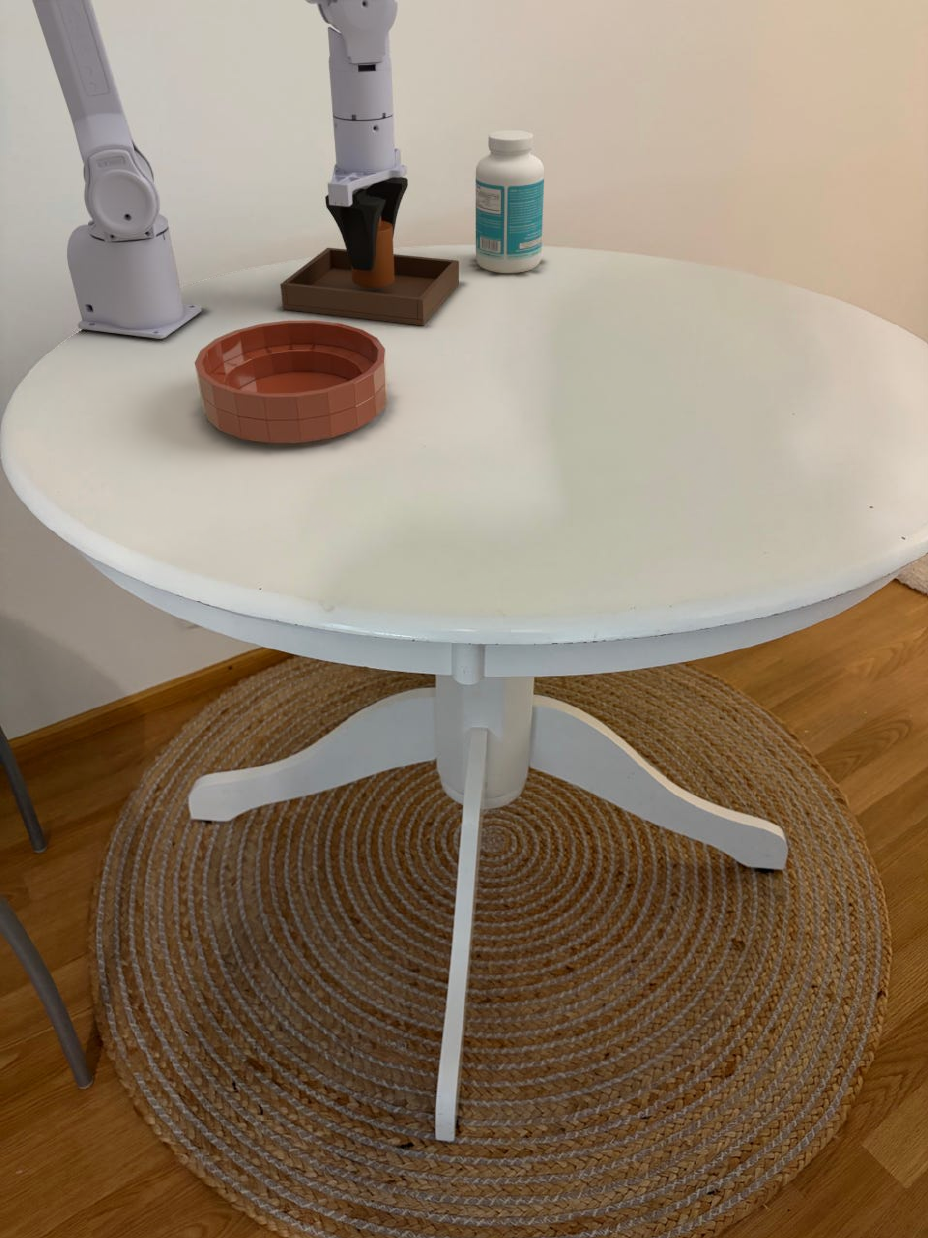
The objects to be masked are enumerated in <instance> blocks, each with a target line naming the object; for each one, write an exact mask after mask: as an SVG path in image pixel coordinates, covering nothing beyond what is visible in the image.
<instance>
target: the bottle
mask: <svg viewBox="0 0 928 1238" xmlns="http://www.w3.org/2000/svg"><path fill="white" fill-rule="evenodd" d="M369 198H371V199H381V198H378V197H372V196H369ZM382 210H383V209H382ZM394 254H395V252H394V236H393V229H392V224H390V223H389V222H386V221H381V216H380V219H379V224H378V230H377V239H376V257H375V264H374V268H373V269H372V270H371V271H368V270H358V269H353V268H352V281H353V283H354V284H355V285H358V286H361V287H367V288H378V287H384V286H388V285H390V284H392V283H393V282H394V280H395V275H394ZM351 267H352V265H351Z"/></svg>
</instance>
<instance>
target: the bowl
mask: <svg viewBox="0 0 928 1238" xmlns="http://www.w3.org/2000/svg"><path fill="white" fill-rule="evenodd" d="M194 367H195V374H196V378H197V384H198V389H199V395H200V399H201V406H202V410H203V413H204V416H205V418H206V420H207V421H208V422H210V424H211V425H213V426H214V427H215V428H216V429H218V430H219V431H220V432H223V433H226V434H227V435H230V436H234V437H236V438H238V439H242V440H249V441H256V442H262V443H270V444H280V443H281V444H283V443H284V444H285V443H286V444H288V443H296V444H297V443H307V442H314V441H320V440H326V439H331V438H334V437H338V436H340V435H343V434H347V433H349V432H352V431H355V430H357V429H359V428H361V427H363V426H364V425H366V424H367V423H369V422H371V421H372V420H374V419H376V418H377V417H378V416H379V414H380V413H381V412H382V411H383V410H384V408H385V407H386V405H387V401H388V378H387V377H388V376H387V375H388V374H387V358H386V348H385V347H384V345H383V344H382V343H381V342H380V340H379V338H378V337H376V336H374V335H373V334H371V333H369V332H367V331H366V330H364V329H361V328H358V327H355V326H351V325H348V324H344V323H341V322H331V321H324V320H315V319H312V320H311V319H310V320H308V319H307V320H305V319H304V320H302V319H301V320H281V321H273V322H265V323H260V324H255V325H251V326H247V327H242V328H239V329H236V330H233V331H230V332H228V333H226V334H224V335H222V336H219V337H216V338H215V339H213V340H212V341H210V343H208V344H207V345H206V346H204V347H203V348H202V349H201V350H199V352H198V354H197V357H196V358H195V361H194Z"/></svg>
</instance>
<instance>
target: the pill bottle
mask: <svg viewBox="0 0 928 1238" xmlns="http://www.w3.org/2000/svg"><path fill="white" fill-rule="evenodd" d="M487 145H488V150H489V151H490V153H489V154H488V155H485V156H484V157H482V158H481V159H480V160H479V161H478V162H477V165H476V167H475V260H476V263H477V264H478V265H479V267H481V268H482V269H484V270H486V271H489V272H494V273H499V274H500V273H501V274H517V273H518V274H519V273H524V272H528V271H531V270H532V269H535V268H536V267H537V266H538V265H539V264H540V262H541V260H542V248H543V245H542V243H543V242H542V241H543V221H544V220H543V219H544V193H545V192H544V190H545V189H544V188H545V166H544V164H543V162H542V161H541V159H540V158H539V157H537V156H535V155H533V154H531V151H532V149H533V147H534V135H533V133H532V132H530V131H525V130H517V129H515V130H514V129H507V130H504V129H503V130H497V131H493V132H491V133H489V134H488V143H487Z"/></svg>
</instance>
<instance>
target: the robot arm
mask: <svg viewBox="0 0 928 1238" xmlns="http://www.w3.org/2000/svg"><path fill="white" fill-rule="evenodd" d="M304 1H305V2H306V3H308V4H311V5H316V6H317V9H318V12H319V14H320V17H321V18H322V20H323V21H324V23H325V24H327V25H328V24H329V25H331V26H328V27H327V35H328V36H327V37H328V50H329V57H328V70H329V71H328V72H329V84H330V98H331V110H332V124H333V125H332V126H333V139H334V149H335V150H334V152H335V164H334V167H333V173H332V177H331V180H330V181H329V182H328V183H327V194H326V195H325V197H324V198H325V200H324V201H325V207H326V209H327V210H328V212H329V213H330V215H331V216H332V218H333V220H334V222H335V223H336V225H337V227H338V230H339V231H340V234H341V237H342V239H343V242H344V245H345V249H347V253H348V256H349V259H350V262H351V265H352V268H353V269H358V270H368V271H371V270H372V269H373V268H374V264H375V257H376V239H377V230H378V224H379V219H380V216H381V221H386V222H389V223H390V224H392V229H393V237H394V235H395V228H396V222H397V218H398V213H399V210H400V207H401V204H402V201H403V197H404V195H405V193H406V191H407V189H408V187H409V181H408V180H409V179H408V178H406V177H405V176H406V175H407V174H408V166H407V165H404V164H402V155H401V154H402V153H401V152H402V151H401V149H400V148H395V147H396V146H395V123H394V121H395V119H394V95H393V94H394V93H393V92H394V91H393V72H392V71H393V70H392V69H393V68H392V58H391V50H390V48H391V47H390V31H391V29H392V28H393V26H394V24H395V21H396V18H397V14H398V7H399V6H398V5H399V3H398V1H397V0H304ZM32 4H33V7H34V10H35V13H36V16H37V19H38V23H39V25H40V28H41V32H42V35H43V37H44V40H45V44H46V46H47V49H48V53H49V56H50V59H51V62H52V65H53V68H54V70H55V74H56V77H57V80H58V83H59V87H60V89H61V93H62V95H63V98H64V101H65V104H66V108H67V111H68V114H69V116H70V119H71V122H72V127H73V131H74V134H75V138H76V142H77V146H78V150H79V153H80V157H81V160H82V163H83V170H82V171H83V179H84V183H85V184H84V191H83V193H84V194H83V197H84V198H83V199H84V204H85V208H86V211H87V213H88V215H89V216H90V218H91V219H90V220H89V221H88V222H87V224H81V225H78V226H77V227H75V229H74V230H73V231H72V232H71V234H70V236H69V238H68V241H67V247H66V260H67V265H68V270H69V273H70V278H71V281H72V285H73V289H74V293H75V297H76V301H77V306H78V309H79V314H80V318H81V321H80V322H78V323H77V326H78V327H77V328H78V329H81V330H88V331H94V332H95V331H96V332H102V333H109V334H110V333H111V334H118V335H125V336H134V337H141V338H148V339H149V338H150V339H157V340H163V339H165V338H167V337H168V336H170V335H171V334H172V333H173V332H175V331H176V330H178V329H179V328H180V327H182V326H183V325H184V324H186V323H188V322H189V321H190V320H192V319H194V317H196V316H197V315H199V314H200V313H201V312H202V311H203V308H202V306H201V305H197V304H188V303H184V302H183V296H182V291H181V286H180V280H179V274H178V270H177V265H176V264H177V263H176V258H175V255H174V254H175V253H174V248H173V243H172V237H171V236H172V235H171V232H170V231H171V230H170V227H169V221H168V218H167V217H165V215H163V214H161V213H160V210H161V200H160V196H159V191H158V189H157V186H156V185H155V177H154V176H155V175H154V172H153V168H152V165H151V163H150V162H149V160H148V158H147V157H146V156H145V154H144V153H143V152H142V151H141V150H140V149H139V148H138V146H137V145H136V143H135V141H134V139H133V136H132V133H131V130H130V126H129V124H128V123H129V122H128V120H127V117H126V114H125V111H124V107H123V105H122V101H121V97H120V94H119V91H118V88H117V84H116V82H115V77H114V73H113V70H112V67H111V63H110V61H109V57H108V53H107V50H106V47H105V43H104V41H103V37H102V34H101V29H100V27H99V23H98V20H97V16H96V12H95V10H94V6H93V2H92V0H32ZM369 196H372V197H378V198H381V199H371V198H369ZM382 209H383V210H382Z"/></svg>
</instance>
